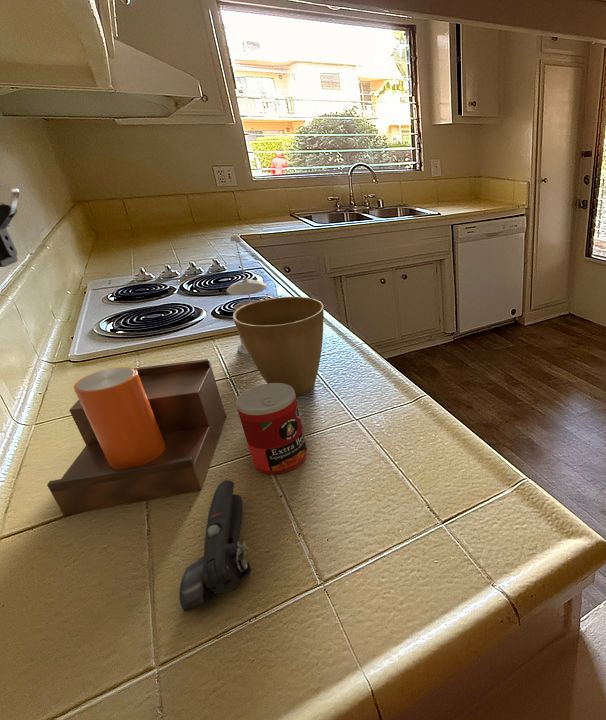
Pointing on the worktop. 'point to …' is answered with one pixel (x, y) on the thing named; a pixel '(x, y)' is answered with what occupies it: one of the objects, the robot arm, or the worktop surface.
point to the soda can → (120, 417)
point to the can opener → (217, 553)
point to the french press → (245, 291)
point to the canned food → (272, 427)
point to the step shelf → (180, 434)
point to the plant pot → (283, 339)
